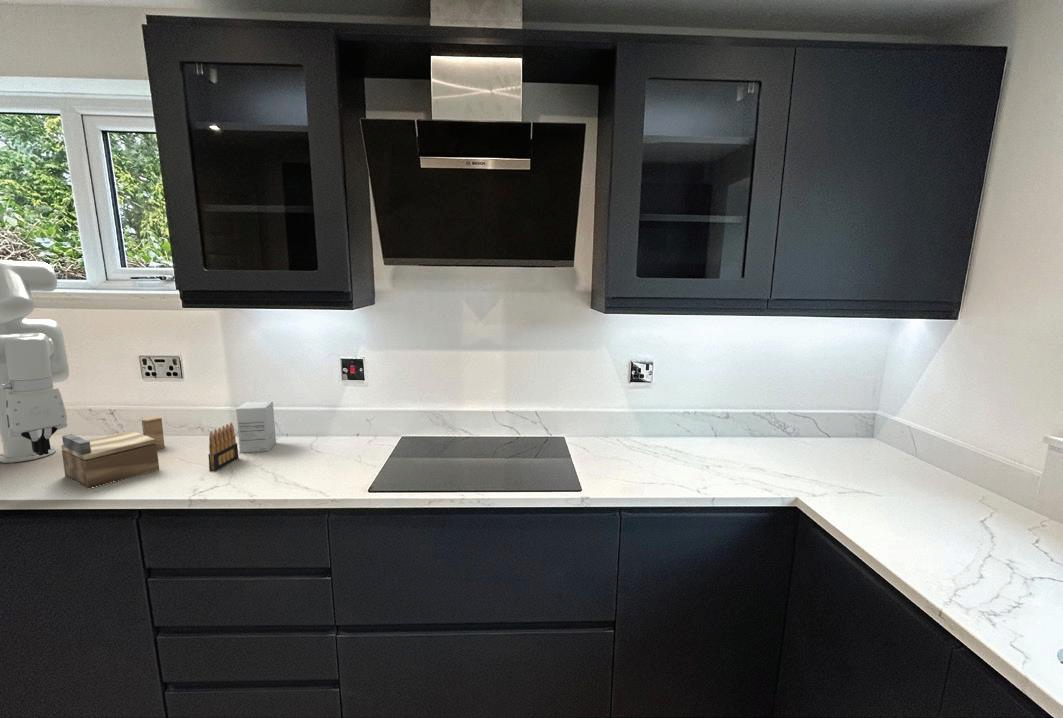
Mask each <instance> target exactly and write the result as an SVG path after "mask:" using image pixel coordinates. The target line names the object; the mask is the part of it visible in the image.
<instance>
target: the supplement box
mask: <svg viewBox="0 0 1063 718" xmlns="http://www.w3.org/2000/svg"><path fill="white" fill-rule="evenodd" d="M235 411H236V412H235V413H236V422H237V435H238V445H239V453H240V454H242V453H244V454H245V453H257V452H269V451H271V449H272V448H273V446H274V445H276V443H277V438H276V437H277V436H276V425H275V413H274V401H273V400H271V401H270V400H269V401H247V402H246V401H245V402H244V403H243V404H241V405H240V406H238V407H237V408H236V409H235Z"/></svg>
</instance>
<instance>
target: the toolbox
mask: <svg viewBox="0 0 1063 718" xmlns="http://www.w3.org/2000/svg"><path fill="white" fill-rule="evenodd" d="M158 455H159V454H158V449H157V444H150V445H146V446H142V447H137V448H133V449H129V450H125V451H121V452H116V453H112V454H108V455H104V456H100V457H96V458H91V459H87V460H83V459H81V458H79V457H77V456H75V455H73V454H70V453H68V452H66V451H64V450H62V449H61V456H62V463H63V471H64V475H65V478H67V479H69V478H70V480H71V479H72V480H71V481H73V480H74V482H75V481H76V482H75V483H77V482H78V483H77V484H79V483H80V484H79V485H81V486H82V485H83V486H82V487H84V486H85V487H84V488H86V487H87V488H86V489H88V488H91V489H93V488H92V487H95V488H97V487H96V486H98V487H100V486H99V485H102V486H104V485H103V484H105V485H107V484H106V483H109V484H111V483H110V482H112V483H114V482H113V481H116V482H119V481H122V480H121V479H123V480H126V479H125V478H127V479H130V478H133V476H134V477H137V476H140V474H141V475H144V474H147V473H151V472H155V471H157V470H160V463H159V456H158ZM136 475H137V476H136ZM129 477H130V478H129ZM118 480H119V481H118Z"/></svg>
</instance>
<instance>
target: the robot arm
mask: <svg viewBox="0 0 1063 718" xmlns="http://www.w3.org/2000/svg"><path fill="white" fill-rule="evenodd" d="M57 287H58V277H57V274H56V272H55V270H54V268H53V267H52V266H51V265H50V264H48V263H46V262H42V261H24V260H23V261H22V260H21V261H20V260H19V261H18V260H4V259H3V260H1V259H0V439H1V444H2V450H3V451H2V452H3V453H1V454H0V463H4V464H5V463H6V464H8V463H21V462H26V461H27V462H28V461H33V460H37V459H42V458H45V457H47V456H50V455H52V454H54V453H55V452H56V451H57V449H56V447H55V446H53V445H51V442H50V439H51V438H52V436H53V435H54V434H55V433H56V432H57V431H58V430H63V429H64V428H67V427H68V423H67V421H68V418H67V416H68V415H67V412H66V407H65V404H64V400H63V398H62V394H61V392H60V389H59V387H56V386H54V384H55V383H62V382H65V381H66V380H68V378H69V375H70V368H69V361H68V356H67V351H66V344H65V338H64V334H63V330H62V327H61V326H60V324H59V323H58V322H57V321H55V320H52V319H48V318H36V319H34V318H33V319H30V318H29V319H27V316H29V315H31V314H32V313H33V312H34V310H35V306H36V305H35V302H34V299H33V296H32V293H31V292H34V293H35V292H43V293H44V292H47V293H48V292H49V293H50V292H53V291H55V290H56V288H57Z"/></svg>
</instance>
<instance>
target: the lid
mask: <svg viewBox="0 0 1063 718" xmlns="http://www.w3.org/2000/svg"><path fill="white" fill-rule="evenodd" d="M61 438H62V445H61V446H60V447H61V451H62V450H64V451H66V452H68V453H70V454H73V455H75V456H77V457H79V458H81V459H83V460H87V459H91V458H96V457H100V456H104V455H108V454H112V453H116V452H121V451H125V450H129V449H133V448H137V447H142V446H146V445H150V444H154V443H156V440H155V439H154V438H151V437H148V436H145V435H143V433H139V432H136V431H134V430H128V431H123V432H118V433H114V434H109V435H103V436H99V437H94V438H90V439H84V438H82V437H80V436H78V435H75V434H73V433H72V434H66V435H62V437H61Z"/></svg>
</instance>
